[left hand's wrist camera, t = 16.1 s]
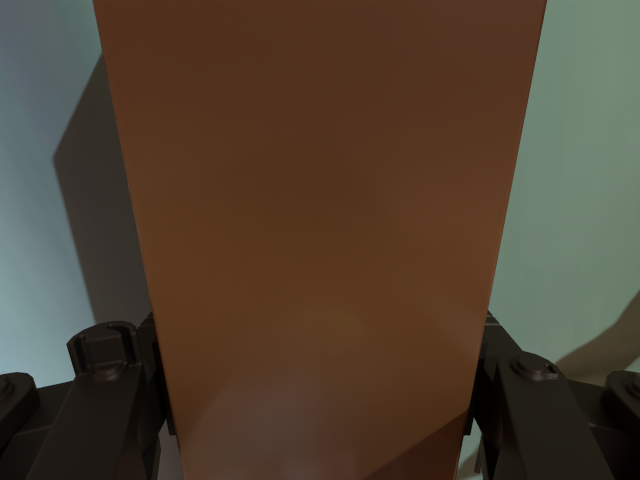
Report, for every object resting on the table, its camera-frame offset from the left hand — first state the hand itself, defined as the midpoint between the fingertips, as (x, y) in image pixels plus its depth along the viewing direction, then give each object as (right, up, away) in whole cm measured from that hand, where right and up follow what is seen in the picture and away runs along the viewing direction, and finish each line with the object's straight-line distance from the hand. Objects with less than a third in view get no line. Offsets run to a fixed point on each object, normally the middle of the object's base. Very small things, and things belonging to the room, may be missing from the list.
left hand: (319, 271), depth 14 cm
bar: (0, +7, -2) cm, 7 cm away
